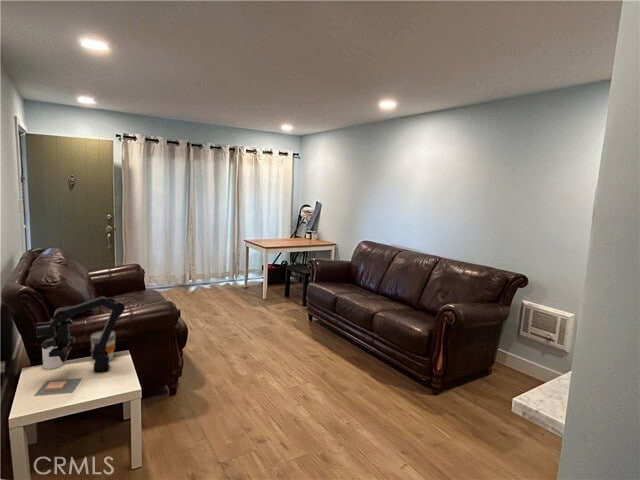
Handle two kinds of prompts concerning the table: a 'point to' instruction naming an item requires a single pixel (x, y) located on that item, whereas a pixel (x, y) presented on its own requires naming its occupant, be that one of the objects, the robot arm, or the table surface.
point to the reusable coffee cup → (110, 343)
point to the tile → (56, 386)
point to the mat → (68, 388)
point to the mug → (50, 359)
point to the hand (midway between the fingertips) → (63, 361)
